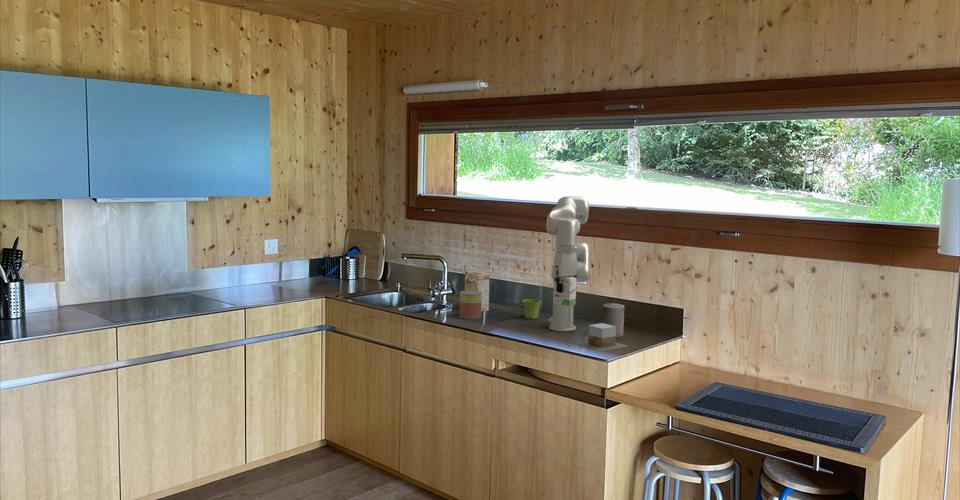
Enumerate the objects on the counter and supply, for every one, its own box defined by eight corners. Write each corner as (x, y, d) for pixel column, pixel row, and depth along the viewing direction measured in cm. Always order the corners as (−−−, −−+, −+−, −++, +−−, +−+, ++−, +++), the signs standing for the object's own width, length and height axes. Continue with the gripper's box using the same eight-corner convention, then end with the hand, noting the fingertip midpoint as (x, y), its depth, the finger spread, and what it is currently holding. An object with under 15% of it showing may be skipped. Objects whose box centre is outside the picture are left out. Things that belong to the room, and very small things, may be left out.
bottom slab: (588, 343, 306) (588, 334, 305) (601, 341, 310) (601, 332, 310) (601, 347, 299) (602, 338, 299) (615, 345, 304) (615, 335, 303)
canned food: (483, 314, 365) (484, 291, 364) (478, 319, 354) (478, 295, 353) (462, 313, 368) (462, 290, 367) (456, 317, 357) (456, 293, 356)
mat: (574, 344, 307) (574, 343, 306) (601, 339, 316) (601, 338, 316) (602, 351, 294) (602, 351, 294) (629, 346, 303) (629, 345, 303)
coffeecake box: (463, 307, 385) (464, 270, 383) (475, 306, 389) (476, 270, 387) (477, 312, 372) (477, 274, 370) (489, 311, 376) (489, 273, 374)
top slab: (588, 334, 305) (588, 325, 305) (601, 332, 310) (602, 323, 309) (602, 338, 299) (602, 328, 298) (615, 335, 303) (616, 326, 303)
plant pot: (518, 317, 361) (518, 300, 360) (532, 315, 367) (532, 298, 366) (530, 320, 353) (530, 303, 353) (544, 318, 359) (545, 301, 358)
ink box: (576, 304, 305) (577, 277, 304) (569, 306, 302) (570, 278, 300) (560, 302, 311) (560, 274, 310) (552, 303, 307) (553, 276, 306)
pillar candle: (597, 333, 327) (598, 301, 325) (615, 332, 331) (616, 299, 329) (609, 338, 318) (610, 305, 316) (627, 337, 322) (629, 303, 320)
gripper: (575, 247, 312) (573, 288, 314) (544, 249, 302) (543, 292, 304) (587, 249, 306) (585, 291, 308) (556, 251, 296) (555, 294, 298)
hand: (564, 291), depth 306 cm, fingers closed on ink box, 5 cm apart
